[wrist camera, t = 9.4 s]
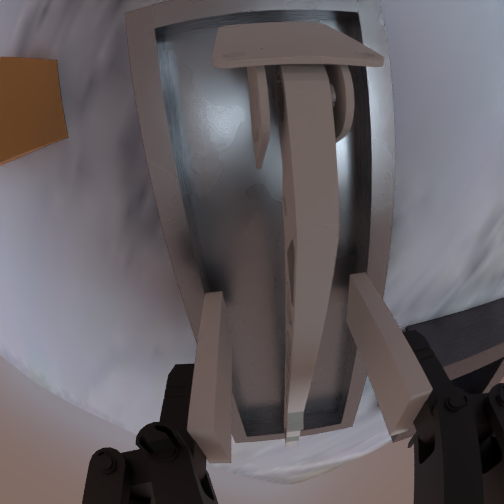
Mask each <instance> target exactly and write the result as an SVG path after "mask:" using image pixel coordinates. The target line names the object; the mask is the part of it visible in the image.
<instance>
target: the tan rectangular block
mask: <svg viewBox="0 0 504 504" xmlns="http://www.w3.org/2000/svg"><path fill="white" fill-rule="evenodd" d="M65 138H68V134H67V128H66V123H65V118H64V112H63V105H62V99H61V92H60V84H59V76H58V66H57V60H47V59H36V58H20V57H0V166H1V165H4V164H6V163H8V162H11V161H13V160H15V159H17V158H19V157H22V156H24V155H26V154H28V153H31V152H33V151H35V150H38V149H40V148H42V147H45V146H47V145H50V144H52V143H55V142H57V141H60V140H62V139H65Z"/></svg>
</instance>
